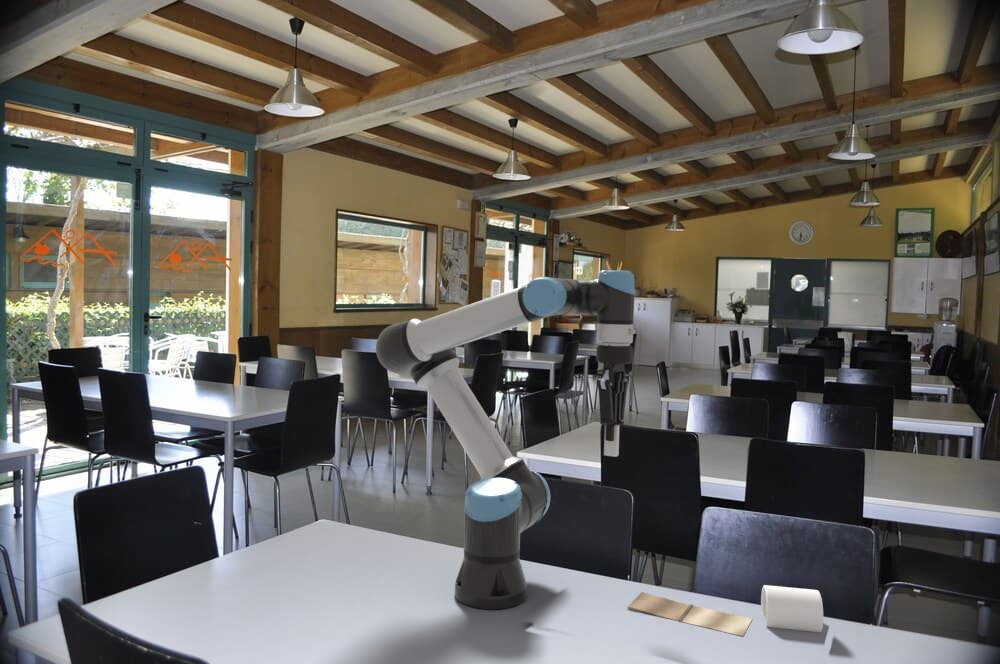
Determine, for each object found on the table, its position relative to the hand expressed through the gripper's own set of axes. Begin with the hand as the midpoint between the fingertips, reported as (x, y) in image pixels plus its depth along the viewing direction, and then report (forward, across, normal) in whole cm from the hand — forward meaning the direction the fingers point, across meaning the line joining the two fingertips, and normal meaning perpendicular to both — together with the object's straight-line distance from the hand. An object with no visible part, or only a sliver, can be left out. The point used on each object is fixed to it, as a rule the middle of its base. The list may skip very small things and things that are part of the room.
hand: (611, 455), depth 158 cm
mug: (+30, +4, -36) cm, 47 cm away
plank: (+29, -5, -13) cm, 32 cm away
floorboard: (+29, -5, -24) cm, 38 cm away
